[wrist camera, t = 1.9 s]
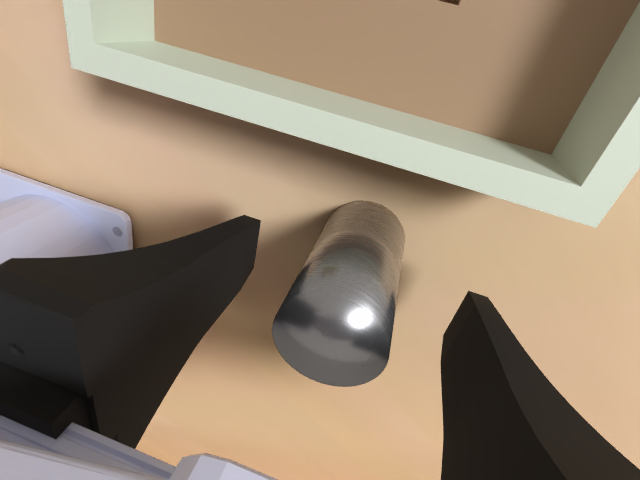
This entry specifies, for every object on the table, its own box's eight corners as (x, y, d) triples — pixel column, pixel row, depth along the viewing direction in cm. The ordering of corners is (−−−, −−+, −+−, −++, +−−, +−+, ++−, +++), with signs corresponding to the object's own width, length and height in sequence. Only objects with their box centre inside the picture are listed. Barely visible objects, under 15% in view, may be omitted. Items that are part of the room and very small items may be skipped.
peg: (389, 280, 16) (369, 401, 11) (318, 256, 16) (264, 361, 11) (416, 216, 14) (407, 322, 9) (335, 190, 14) (282, 278, 9)
